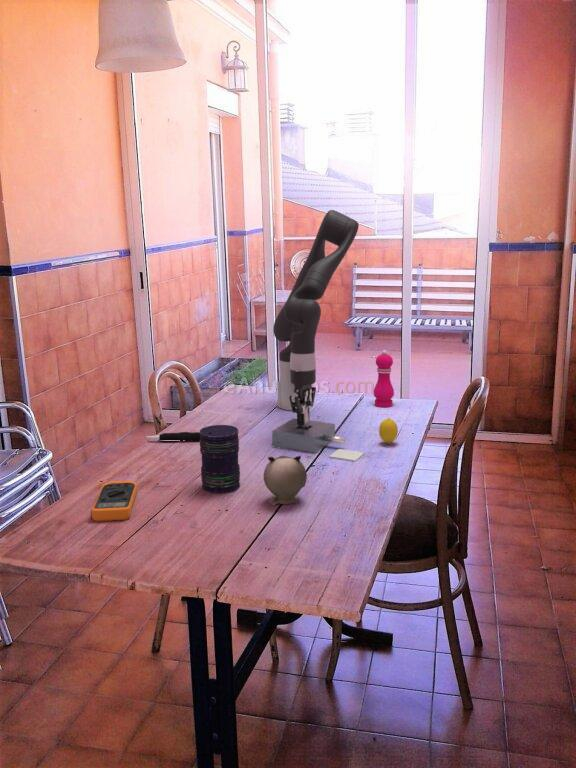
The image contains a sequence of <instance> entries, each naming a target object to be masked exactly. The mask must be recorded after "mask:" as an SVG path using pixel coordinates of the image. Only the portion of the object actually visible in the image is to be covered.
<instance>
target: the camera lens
mask: <svg viewBox="0 0 576 768" xmlns="http://www.w3.org/2000/svg"><path fill="white" fill-rule="evenodd" d="M199 432H200V441H199V451H200V455H201V468H200V472H201V473H200V474H201V475H200V478H201V483H202V484H201V489H202V490H203V491H204V492H206V493H209V494H215V495H223V494H224V495H225V494H229V493H233V492H236V491H237V490H239V489H240V487H241V483H240V480H241V466H240V464H239V451H240V439H239V428H238V427H236V426H233V425H229V424H215V425H209V426H205V427H202V428H201V429H200V430H199ZM238 488H239V489H238ZM235 490H236V491H235Z"/></svg>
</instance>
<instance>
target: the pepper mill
mask: <svg viewBox="0 0 576 768" xmlns="http://www.w3.org/2000/svg"><path fill="white" fill-rule="evenodd" d="M375 364H376V366H377V368H376V370H377V371H376V372H377V373H378V375H377V381H376V384H375V386H374V388H373V396H374V398H375V399H374V405H375V406H376V407H378V408H390V407H392V406H393V399H392V398H394V396H395V389H394V387H393V385H392V381H391V372H392V366H393V364H394V359H393V357H392V356H391V355H390V354H388V351H387V350H386V349H383V350H382V351H381V354H380V355H378V356H377V357H376V359H375Z"/></svg>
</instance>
